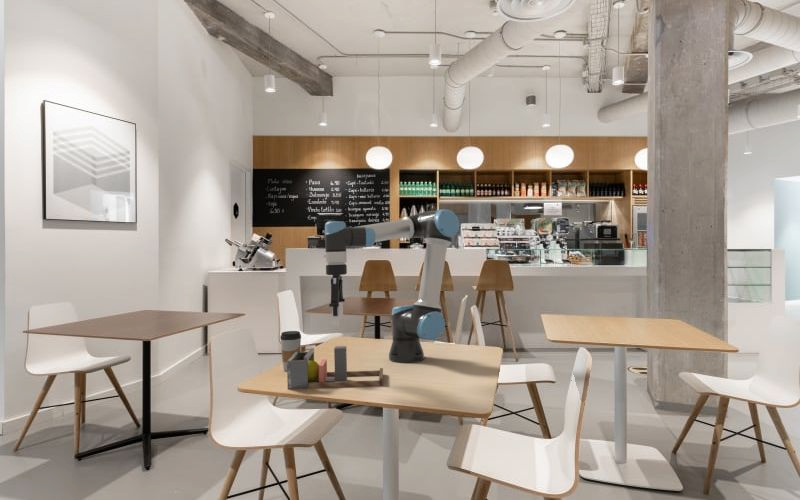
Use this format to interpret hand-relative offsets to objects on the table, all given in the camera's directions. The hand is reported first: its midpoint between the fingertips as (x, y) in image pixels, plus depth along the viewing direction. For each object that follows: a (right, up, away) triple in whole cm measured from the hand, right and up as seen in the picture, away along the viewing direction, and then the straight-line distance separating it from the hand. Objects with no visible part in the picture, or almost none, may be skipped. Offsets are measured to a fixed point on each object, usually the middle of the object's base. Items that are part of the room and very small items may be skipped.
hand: (337, 322), depth 174 cm
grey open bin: (-13, -22, -1) cm, 25 cm away
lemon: (-11, -22, -2) cm, 24 cm away
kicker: (-1, -21, 0) cm, 21 cm away
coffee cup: (-21, -22, +19) cm, 36 cm away
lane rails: (+3, -21, 0) cm, 22 cm away
